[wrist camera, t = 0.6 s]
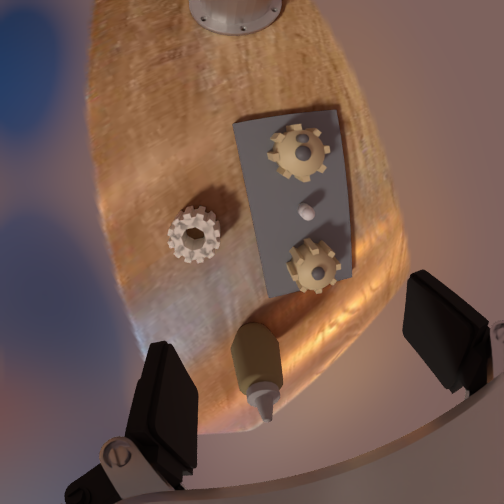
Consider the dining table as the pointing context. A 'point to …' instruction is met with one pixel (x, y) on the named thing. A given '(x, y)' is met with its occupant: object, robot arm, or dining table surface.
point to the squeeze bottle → (258, 367)
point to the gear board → (297, 199)
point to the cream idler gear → (189, 245)
